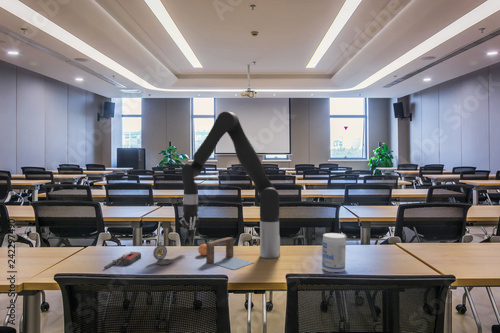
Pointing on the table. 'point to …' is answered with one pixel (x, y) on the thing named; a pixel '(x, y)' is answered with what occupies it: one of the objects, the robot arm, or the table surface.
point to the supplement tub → (333, 252)
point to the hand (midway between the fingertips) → (190, 236)
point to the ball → (202, 249)
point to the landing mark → (233, 263)
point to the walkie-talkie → (126, 259)
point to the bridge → (211, 244)
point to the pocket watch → (159, 251)
